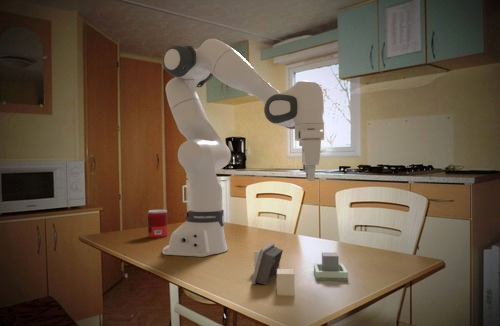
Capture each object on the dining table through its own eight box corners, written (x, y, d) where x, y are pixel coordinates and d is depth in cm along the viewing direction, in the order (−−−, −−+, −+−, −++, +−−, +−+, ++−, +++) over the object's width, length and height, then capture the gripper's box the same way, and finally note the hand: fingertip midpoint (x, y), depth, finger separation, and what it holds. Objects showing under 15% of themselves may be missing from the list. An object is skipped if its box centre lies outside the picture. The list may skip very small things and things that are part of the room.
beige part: (277, 295, 86) (276, 273, 86) (277, 289, 90) (277, 268, 90) (294, 295, 86) (294, 274, 86) (294, 289, 90) (293, 269, 90)
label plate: (254, 272, 104) (254, 251, 104) (254, 272, 105) (254, 250, 105) (279, 273, 103) (279, 251, 103) (279, 272, 104) (279, 250, 104)
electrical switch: (263, 274, 102) (266, 241, 102) (281, 278, 100) (284, 244, 100) (250, 285, 94) (253, 248, 93) (270, 289, 92) (272, 252, 91)
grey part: (323, 275, 98) (323, 256, 98) (321, 270, 102) (321, 252, 102) (338, 275, 98) (338, 256, 98) (336, 270, 102) (336, 252, 102)
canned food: (171, 235, 159) (170, 210, 159) (157, 239, 152) (156, 212, 152) (158, 234, 163) (158, 209, 163) (144, 237, 156) (143, 211, 156)
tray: (316, 280, 96) (316, 272, 96) (313, 271, 104) (313, 263, 104) (348, 280, 96) (347, 272, 96) (342, 271, 104) (342, 263, 104)
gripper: (297, 137, 124) (298, 178, 124) (300, 132, 103) (301, 182, 103) (316, 136, 123) (317, 178, 123) (323, 131, 103) (324, 181, 103)
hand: (310, 180), depth 113 cm, fingers open, 8 cm apart
